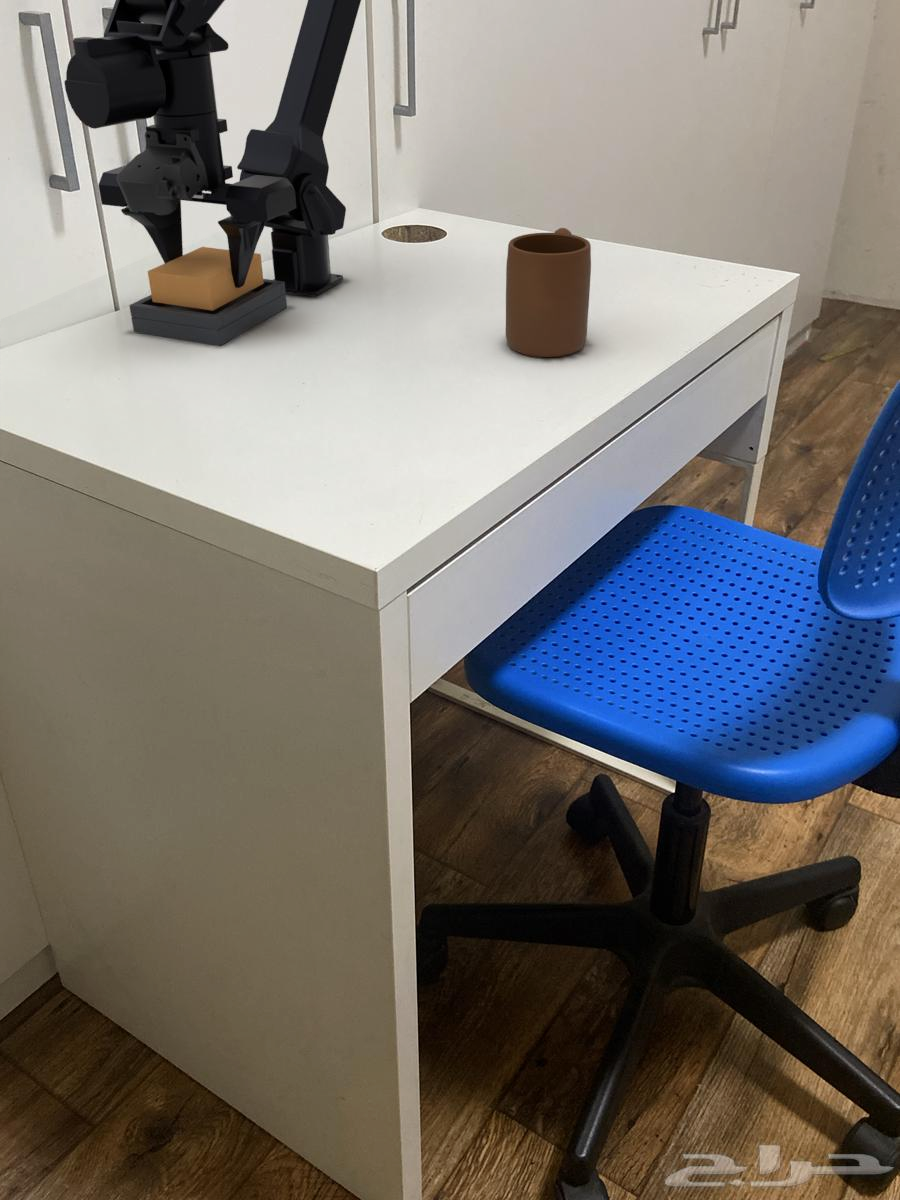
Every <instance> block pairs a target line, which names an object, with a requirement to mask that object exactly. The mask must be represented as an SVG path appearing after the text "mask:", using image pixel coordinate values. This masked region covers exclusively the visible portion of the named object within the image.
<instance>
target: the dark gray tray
mask: <svg viewBox="0 0 900 1200" xmlns="http://www.w3.org/2000/svg"><path fill="white" fill-rule="evenodd" d="M263 281H264V284H262V285H260V286H258V287H256V288H255V289H253V290H251V291H249V292H247V293H245V294H243V295H241V296H239V297H238V298H236V299H234V300H232V301H230V302H228V303H226V304H224V305H222V306H221V307H219V308H217V309H215V310H213V311H212V310H205V309H198V308H191V307H184V306H178V305H171V304H164V303H157V302H153V301H152V295H151V294H150V295H147V296H145V297H144V298H141V299H139V300H137V301H135V302H133V303H131V304H129V311H130V317H131V323H132V329H133V332H134V333H138V334H144V335H150V336H151V335H152V336H157V337H164V338H170V339H176V340H182V341H188V342H195V343H202V344H206V345H207V344H208V345H214V346H221V347H222V346H223V345H225V344H226V343H228V342H230V341H231V340H233V339H235V338H236V337H239V336H240V335H242V334H243V333H245V332H247V331H248V330H250V329H252V328H255V326H257V325H259V324H260V323H262V322H264V321H266V320H268V319H269V318H271V317H272V316H275V315H276V314H278V313H280V312H282V311H283V310H285V309H286V308H288V305H287V294H286V292H285V282H284V281H276V280H273V279H269V278H263Z"/></svg>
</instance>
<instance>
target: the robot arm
mask: <svg viewBox="0 0 900 1200" xmlns="http://www.w3.org/2000/svg"><path fill="white" fill-rule="evenodd" d="M225 1H226V0H115V1H114V4H113V8H112V9H111V13H110V16H109V18H108V21H107V24H106V27H105V30H104V32H103V36H102V37H92V36H80V37H74V38H73V40H72V44H73V50H74V54H73V56H72V57H71V58H70V59H69V61H68V63H67V66H66V72H65V75H66V76H65V77H66V78H65V80H64V89H65V93H66V96H67V100H68V102H69V105H70V107H71V109H72V111H73V112H74V115H75V116H76V117H77V119H79V121H80V122H81V123H82V124H83V125H85V126H86V127H88V128H90V129H94V130H95V129H101V128H106V127H111V126H117V125H121V124H126V123H127V124H128V123H132V122H137V121H142V120H146V119H153V124H150V125H147V126H145V132H144V140H145V149H144V150H143V152H140V153H138V154H136V155H135V156H134V157H133V158H132V159H131V160H130V161H129V162H128V163H127V164H126V165H123V166H119V167H116V168H112V169H110V170H107V171H103V172H102V174H101V176H100V179H99V182H98V186H97V187H98V192H99V198H100V203H101V205H103V206H111V207H118V208H120V207H121V209H120V211H121V213H122V214H123V215H124V216H127V217H131V218H132V219H133V220H134V221H136V222H137V223H139V224H140V225H142V226H143V228H144V229H145V231H146V232H147V234H148V235H149V236H150V238H151V240H152V242H153V244H154V246H155V248H156V250H157V252H158V253H159V255H160V257H161V259H162V261H163V264H165V263H167V262H169V261H171V260H174V259H176V258H178V257H180V256H183V255H184V248H183V227H182V226H183V224H182V201H185V202H195V203H203V204H215V205H223V206H226V207H225V208H226V211H227V212H228V213H229V214H230V216H227V217H225V218H222V219H220V220H217V224H218V225H219V226H220V228H221V229H222V230H223V232H224V233H225V234H226V238H227V245H228V250H229V255H230V263H231V272H232V276H233V281H234V285H235V287H236V288H240V287H242V286H243V285H244V283H245V280H246V277H247V274H248V271H249V268H250V264H251V261H252V258H253V255H254V253H256V252H255V251H256V249H257V245H258V244H259V243H258V242H259V240H260V237H261V236H262V233H263V231H264V230H265V229H264V228H265V227H266V228H271V232H270V239H271V246H272V247H271V256H272V267H273V276H274V279H272V280H276V281H284V282H285V293H288V294H294V295H295V294H296V295H302V296H310V297H317V296H319V295H320V294H322V293H324V292H326V291H328V290H329V289H330V288H332V287H334V286H336V285H337V284H339V283H341V282H342V281H344V275H343V274H336V273H332V271H331V259H330V244H329V236H332V235H335V234H336V232H337V231H339V230H342V229H343V228H344V225H345V220H346V212H347V208H346V206H345V204H343V203H342V201H341V200H340V199H339V198H338V197H337V196H336V195H335V193H334V192H332V190H331V189H330V188H329V186H327V184H328V183H327V182H328V177H329V171H330V166H329V161H328V157H327V153H326V152H327V151H326V147H325V143H324V133H325V128H326V126H327V121H328V120H329V119H328V118H329V114H330V112H331V108H332V104H333V101H334V98H335V94H336V90H337V88H338V87H337V86H338V83H339V81H340V76H341V73H342V69H343V66H344V62H345V59H346V55H347V52H348V48H349V44H350V41H351V37H352V33H353V30H354V26H355V23H356V19H357V17H358V12H359V9H360V6H361V2H362V0H307V3H306V5H305V10H304V14H303V17H302V21H301V24H300V28H299V32H298V35H297V39H296V43H295V46H294V50H293V53H292V57H291V61H290V64H289V68H288V71H287V75H286V79H285V83H284V86H283V89H282V93H281V96H280V100H279V104H278V106H277V110H276V115H275V117H274V119H273V121H271V123H270V124H269V125H268V126H267V127H266V128H265V129H264V130H262V129H255V128H251V129H250V130H249V132H248V134H247V136H246V139H245V147H244V151H243V155H242V157H241V160H240V162H238V164H237V167H236V169H237V170H241V171H240V175H239V181H237V182H234V183H229V182H228V183H227V182H226V181H227V180H229V179H232V178H234V174H233V166H232V165H224V158H223V150H222V149H223V148H222V142H221V141H222V140H221V135H220V134H223V133H226V132H228V130H229V129H228V122H227V119H226V118H219V116H218V109H217V101H216V99H217V98H216V91H215V83H214V74H213V67H212V60H211V59H212V57H211V54H213V53H220V52H226V51H227V50H228V49H229V43H228V41H227V40H225V38H223V37H222V36H221V35H219V34H218V33H217V32H216V31H215V30H214V29H213V28H212V26H211V25H210V23H209V21H210V20H211V19H212V18H213V16H214V15H215V14H216V12H217V11H218V10H219V9H220V7H221V6H222V5H223V3H224V2H225Z"/></svg>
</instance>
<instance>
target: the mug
mask: <svg viewBox="0 0 900 1200" xmlns="http://www.w3.org/2000/svg"><path fill="white" fill-rule="evenodd" d="M505 273H506V274H505V339H506V343H507V344H508V346H509V347H510V348H511V349H512V350H513V351H515V352H517V353H519V354H522V355H525V356H530V357H538V358H557V357H563V356H568V355H572V354H574V353H576V352H578V351H579V350H581V349H582V348H583V347H584V345H585V343H586V341H587V335H588V320H589V307H590V293H591V274H592V245H591V242H590V241H589V240H588V239H587V238H584V237H582V236H579V235H575V234H572V232H571V231H570V230H569V229H568V228H565V227H559V228H558V229H556V230H555V231H554V232H534V233H527V234H522V235H518V236H516V237H513V238H512V239H511V240H509V242H508V245H507V257H506V268H505Z"/></svg>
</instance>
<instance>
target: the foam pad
mask: <svg viewBox="0 0 900 1200" xmlns="http://www.w3.org/2000/svg"><path fill="white" fill-rule="evenodd" d="M147 276H148V277H147V278H148V282H149V289H150V293H151V294H150V295H152V301H153V302H157V303H164V304H171V305H178V306H184V307H191V308H198V309H205V310H212V311H213V310H215V309H217V308H219V307H221V306H222V305H224V304H226V303H228V302H230V301H232V300H234V299H236V298H238V297H239V296H241V295H243V294H245V293H247V292H249V291H251V290H253V289H255V288H256V287H258V286H260V285H262V284H264V281H263V279H264V274H263V263H262V256H261V253H257V252H254V255H253V258H252V261H251V264H250V268H249V271H248V274H247V277H246V280H245V283H244V285H243V286H242V287H240V288H236V287H235V285H234V281H233V276H232V272H231V263H230V255H229V249H223V248H215V247H207V246H201V247H198V248H196V249H194V250H192V251H189V252H187V253H185V254H183V256H180V257H178V258H176V259H174V260H171V261H169V262H167V263H162V264H161V265H158V266H156V267H154V268H151V269H149V270H147Z"/></svg>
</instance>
